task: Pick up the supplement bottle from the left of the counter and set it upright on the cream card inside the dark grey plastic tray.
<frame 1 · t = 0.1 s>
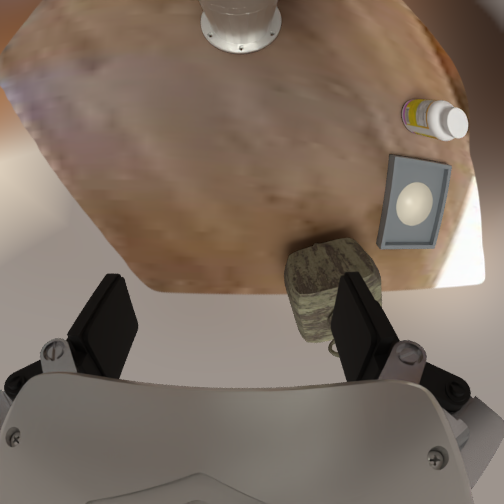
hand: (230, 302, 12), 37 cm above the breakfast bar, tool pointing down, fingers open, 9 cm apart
tabletop clock: (318, 253, 53), on the breakfast bar
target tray: (413, 202, 48), on the breakfast bar
supplement bottle: (414, 116, 40), on the breakfast bar
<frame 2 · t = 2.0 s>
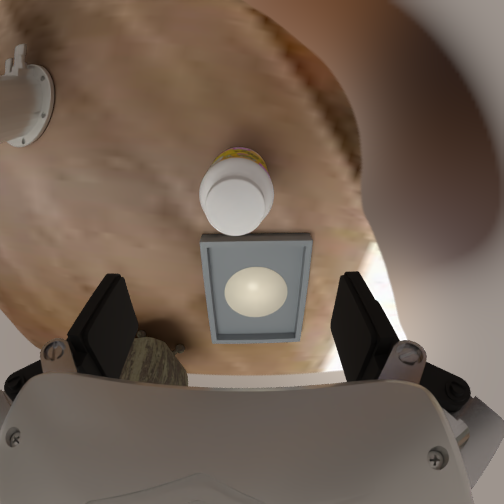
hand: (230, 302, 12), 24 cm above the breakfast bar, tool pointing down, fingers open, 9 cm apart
tabletop clock: (148, 338, 46), on the breakfast bar
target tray: (255, 290, 41), on the breakfast bar
supplement bottle: (239, 172, 33), on the breakfast bar
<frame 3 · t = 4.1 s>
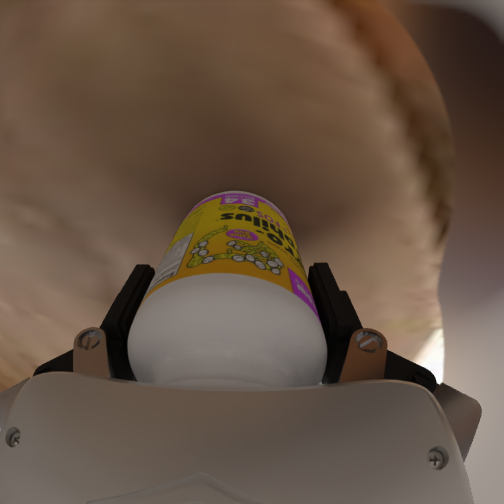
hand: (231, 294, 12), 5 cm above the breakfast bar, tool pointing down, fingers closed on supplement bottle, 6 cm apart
supplement bottle: (235, 239, 17), on the breakfast bar, touching gripper
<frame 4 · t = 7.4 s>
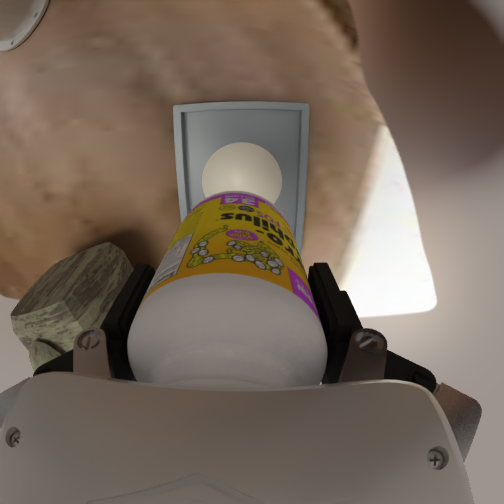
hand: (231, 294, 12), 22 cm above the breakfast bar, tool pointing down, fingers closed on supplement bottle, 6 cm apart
tabletop clock: (111, 262, 37), on the breakfast bar
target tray: (242, 179, 31), on the breakfast bar
supplement bottle: (235, 239, 17), point 16 cm above the breakfast bar, touching gripper
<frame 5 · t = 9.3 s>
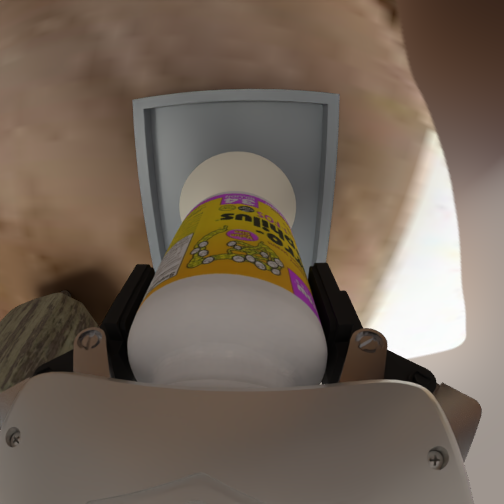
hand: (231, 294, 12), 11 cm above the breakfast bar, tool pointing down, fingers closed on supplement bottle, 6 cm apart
tabletop clock: (77, 305, 27), on the breakfast bar
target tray: (237, 206, 22), on the breakfast bar
supplement bottle: (235, 239, 17), point 6 cm above the breakfast bar, touching gripper
when the fingers open (7 cm above the breakfast bar, at t = 10.6 s): supplement bottle drops 1 cm, resting on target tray.
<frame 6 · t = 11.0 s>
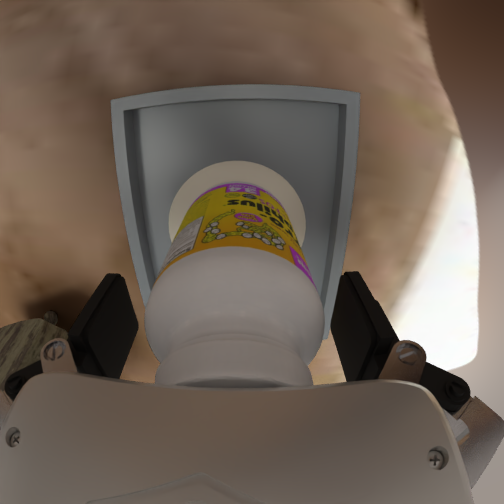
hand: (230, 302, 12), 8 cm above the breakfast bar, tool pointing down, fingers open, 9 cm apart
tabletop clock: (65, 326, 24), on the breakfast bar
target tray: (236, 224, 19), on the breakfast bar
supplement bottle: (236, 226, 18), point 1 cm above the breakfast bar, touching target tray
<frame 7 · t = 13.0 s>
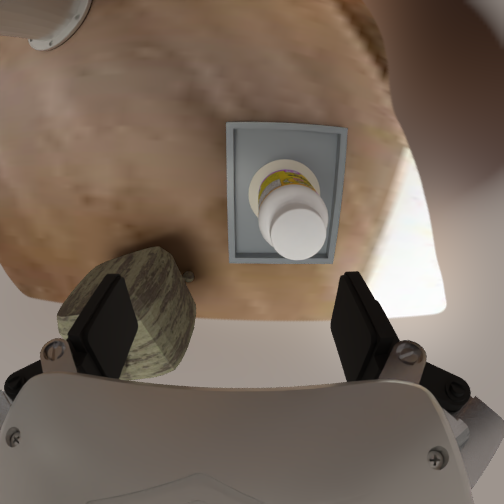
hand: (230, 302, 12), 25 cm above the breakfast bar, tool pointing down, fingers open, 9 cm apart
tabletop clock: (151, 265, 40), on the breakfast bar
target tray: (284, 193, 35), on the breakfast bar
supplement bottle: (284, 193, 34), point 1 cm above the breakfast bar, touching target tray
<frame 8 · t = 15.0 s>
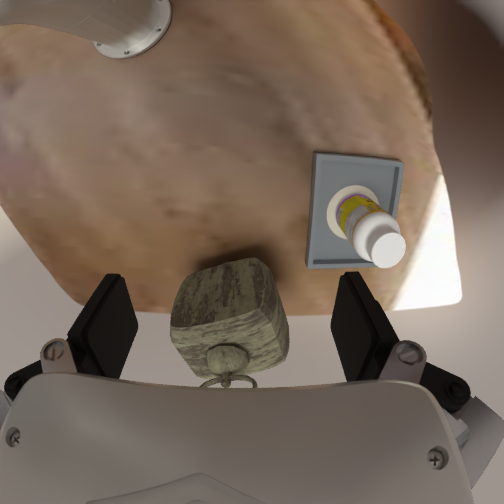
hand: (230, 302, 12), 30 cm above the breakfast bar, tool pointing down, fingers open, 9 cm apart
tabletop clock: (232, 272, 47), on the breakfast bar
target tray: (352, 211, 42), on the breakfast bar
supplement bottle: (353, 211, 41), point 1 cm above the breakfast bar, touching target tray
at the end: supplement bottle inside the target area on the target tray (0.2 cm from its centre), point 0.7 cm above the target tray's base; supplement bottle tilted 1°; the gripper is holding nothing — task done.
